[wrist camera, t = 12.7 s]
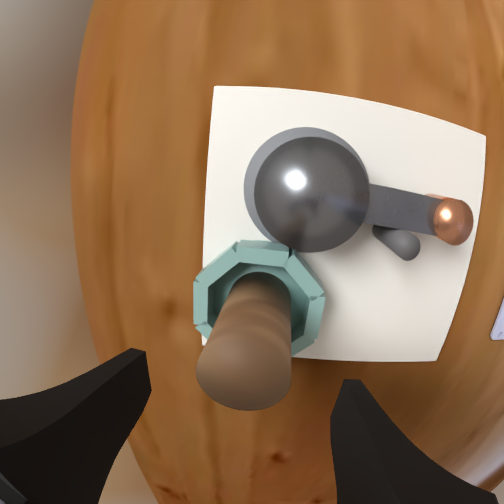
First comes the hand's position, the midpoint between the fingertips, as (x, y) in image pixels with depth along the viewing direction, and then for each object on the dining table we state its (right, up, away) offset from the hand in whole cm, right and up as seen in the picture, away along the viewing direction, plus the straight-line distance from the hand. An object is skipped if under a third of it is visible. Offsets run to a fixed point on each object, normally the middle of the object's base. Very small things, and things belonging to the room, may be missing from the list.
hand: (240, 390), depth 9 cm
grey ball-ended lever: (+6, +8, +5) cm, 11 cm away
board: (+6, +6, +7) cm, 11 cm away
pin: (+1, +2, +7) cm, 8 cm away
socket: (+1, +2, +8) cm, 9 cm away
